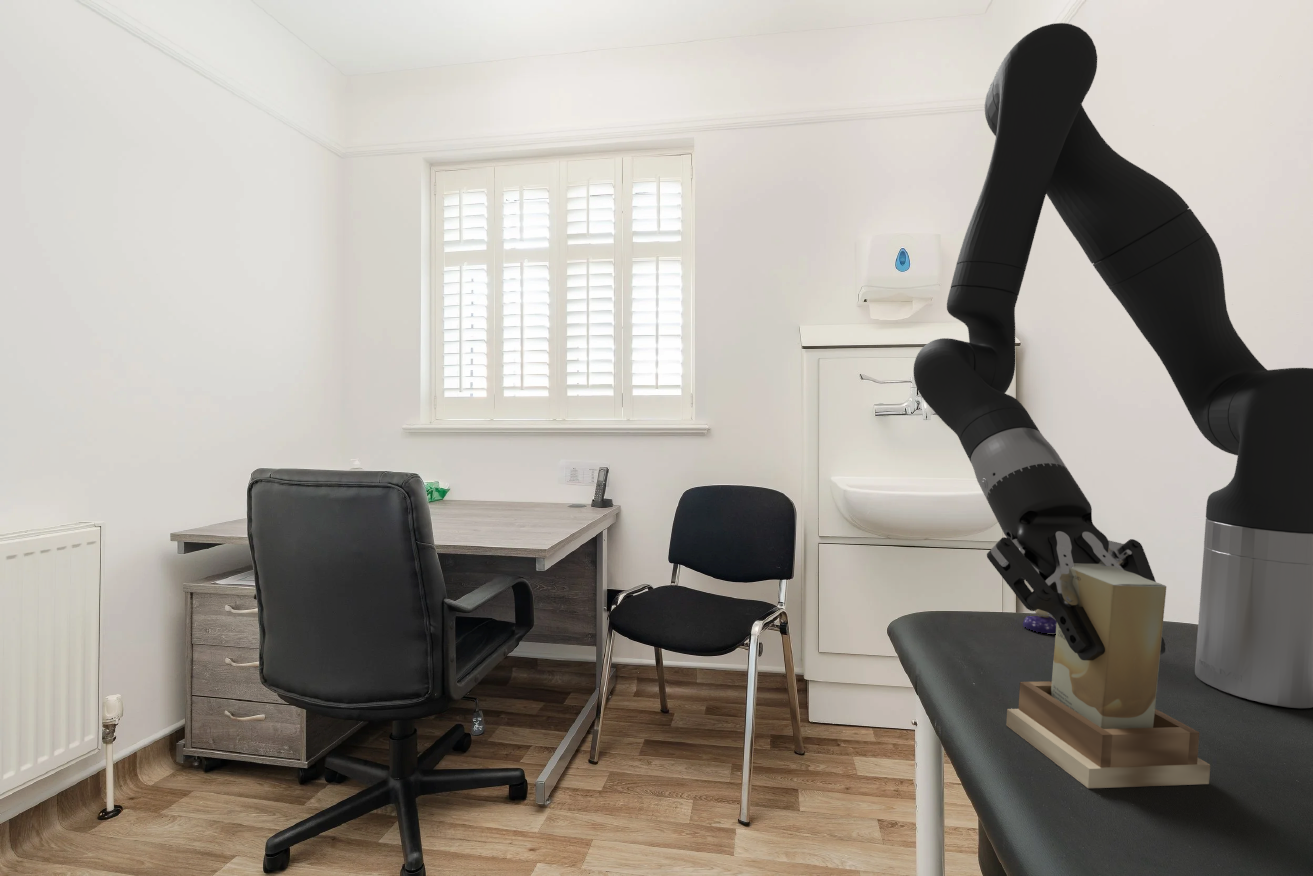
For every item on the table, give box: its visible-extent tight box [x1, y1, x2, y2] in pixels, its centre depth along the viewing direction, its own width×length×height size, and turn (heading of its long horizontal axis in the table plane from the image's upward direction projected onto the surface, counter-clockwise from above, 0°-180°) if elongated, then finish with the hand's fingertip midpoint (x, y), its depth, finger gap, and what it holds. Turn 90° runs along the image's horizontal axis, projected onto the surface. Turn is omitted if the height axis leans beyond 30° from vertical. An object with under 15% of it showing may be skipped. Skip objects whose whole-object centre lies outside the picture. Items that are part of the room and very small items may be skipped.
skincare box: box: [1051, 563, 1167, 729], centre depth 50 cm, size 6×4×12 cm
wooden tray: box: [1006, 680, 1211, 789], centre depth 50 cm, size 10×9×4 cm
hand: (1124, 655), depth 48 cm, fingers closed on skincare box, 4 cm apart
